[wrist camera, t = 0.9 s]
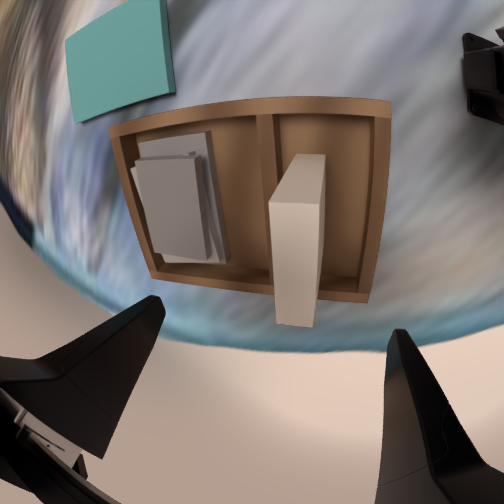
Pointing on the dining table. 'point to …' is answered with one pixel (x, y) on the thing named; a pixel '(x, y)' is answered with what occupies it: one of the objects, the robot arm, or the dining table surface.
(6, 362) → the robot arm
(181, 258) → the offcut stack
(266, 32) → the dining table surface
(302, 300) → the beige rectangular block
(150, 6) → the mat
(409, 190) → the dining table surface
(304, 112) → the wooden divided tray
